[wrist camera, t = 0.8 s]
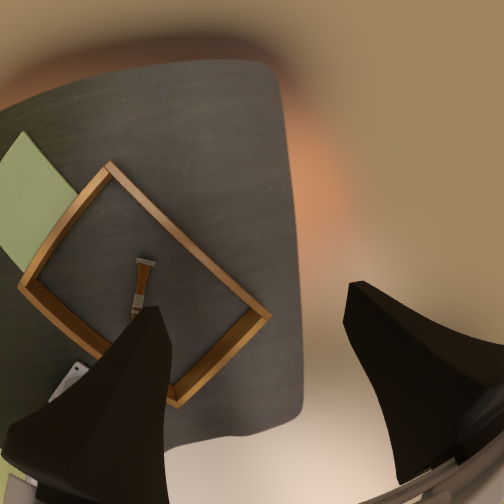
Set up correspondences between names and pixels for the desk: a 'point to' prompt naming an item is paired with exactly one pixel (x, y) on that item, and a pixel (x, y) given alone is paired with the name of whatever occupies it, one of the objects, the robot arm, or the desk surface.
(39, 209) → the mat
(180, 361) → the desk surface
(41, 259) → the wooden frame
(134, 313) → the wooden post with brackets
